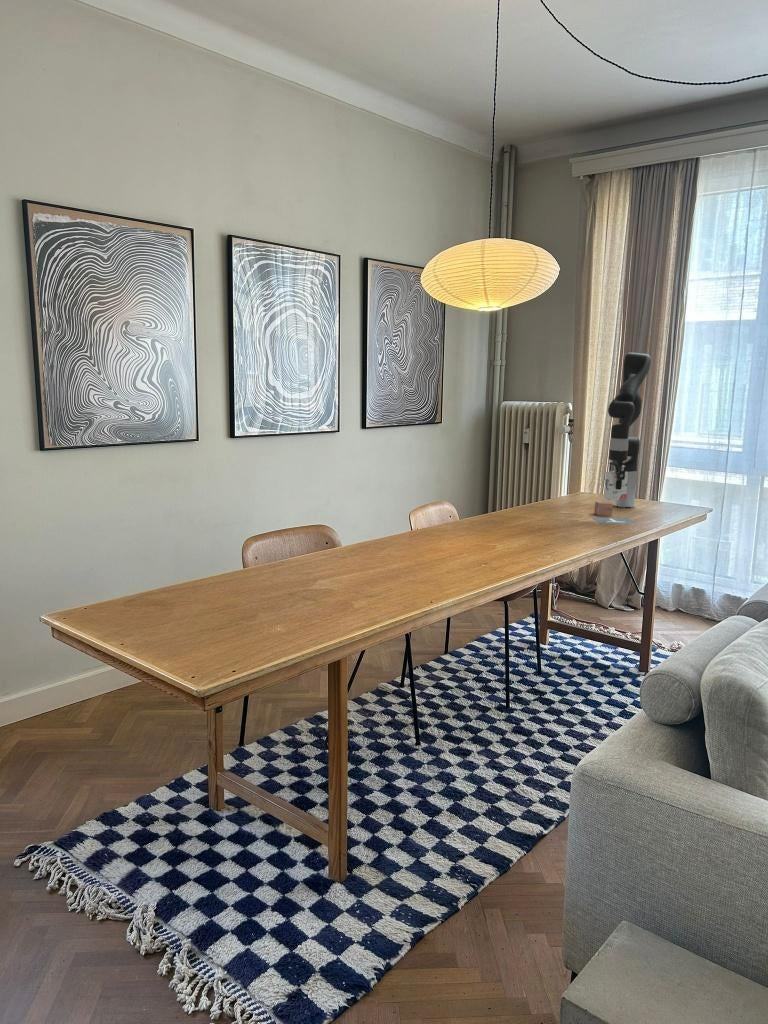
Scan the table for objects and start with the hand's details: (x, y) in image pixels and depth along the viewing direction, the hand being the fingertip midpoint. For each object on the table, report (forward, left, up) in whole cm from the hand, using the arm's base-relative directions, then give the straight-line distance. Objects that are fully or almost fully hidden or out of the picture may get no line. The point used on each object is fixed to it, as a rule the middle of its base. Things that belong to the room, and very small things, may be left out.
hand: (615, 488), depth 329 cm
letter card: (0, 0, -14) cm, 14 cm away
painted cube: (-14, 0, -15) cm, 20 cm away
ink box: (0, 0, -5) cm, 5 cm away
